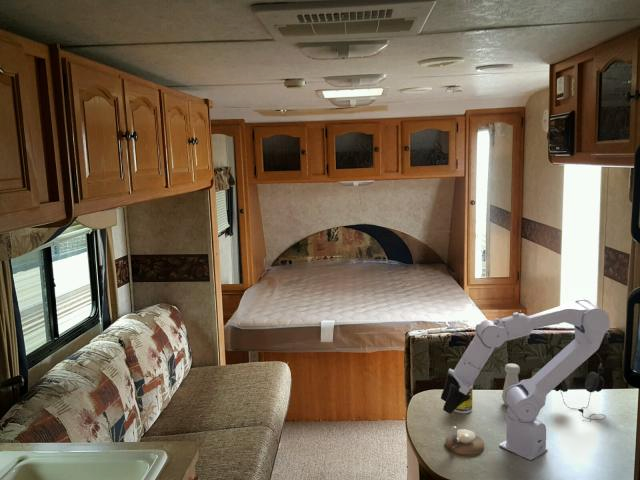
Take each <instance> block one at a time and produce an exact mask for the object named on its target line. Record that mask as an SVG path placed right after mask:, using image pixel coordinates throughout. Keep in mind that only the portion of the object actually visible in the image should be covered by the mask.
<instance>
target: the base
mask: <svg viewBox="0 0 640 480" xmlns="http://www.w3.org/2000/svg"><path fill="white" fill-rule="evenodd" d="M445 447H446V449H447V450H448V451H450V452H451V453H452V454H456V455H459V456H463V457H464V456H465V457H472V456H473V457H474V456H478V455H480V454H481V453H483V452H484V450H485V442H484V440H483V438H481V437H480V436H478V435H476V438H475V440H474V441H473V442H468V443H465V442H460V441H459V442H457V444H453V443H452V433H451V434H449V435H447V436H446V437H445Z"/></svg>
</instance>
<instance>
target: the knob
mask: <svg viewBox="0 0 640 480" xmlns="http://www.w3.org/2000/svg"><path fill="white" fill-rule="evenodd" d="M451 434H452V443H453V444H457V442H459V441H460V442H465V443H468V442H473V441H474V440H475V438H476V436H477V435H476V433H475V432H474V431H472V430H470V429H464V428H459V429H458V427H457V426H456V425H452V426H451Z"/></svg>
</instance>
